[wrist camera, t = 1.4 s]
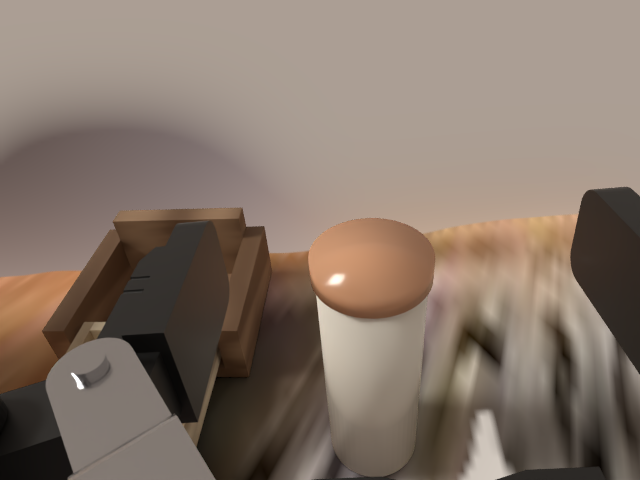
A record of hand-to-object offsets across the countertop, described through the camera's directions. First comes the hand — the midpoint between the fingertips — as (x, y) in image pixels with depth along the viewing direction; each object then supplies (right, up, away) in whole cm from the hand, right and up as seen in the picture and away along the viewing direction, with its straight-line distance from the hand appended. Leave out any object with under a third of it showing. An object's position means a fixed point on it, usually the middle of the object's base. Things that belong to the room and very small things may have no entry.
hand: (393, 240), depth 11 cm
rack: (-13, -7, +31) cm, 34 cm away
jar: (+2, -13, +21) cm, 25 cm away
